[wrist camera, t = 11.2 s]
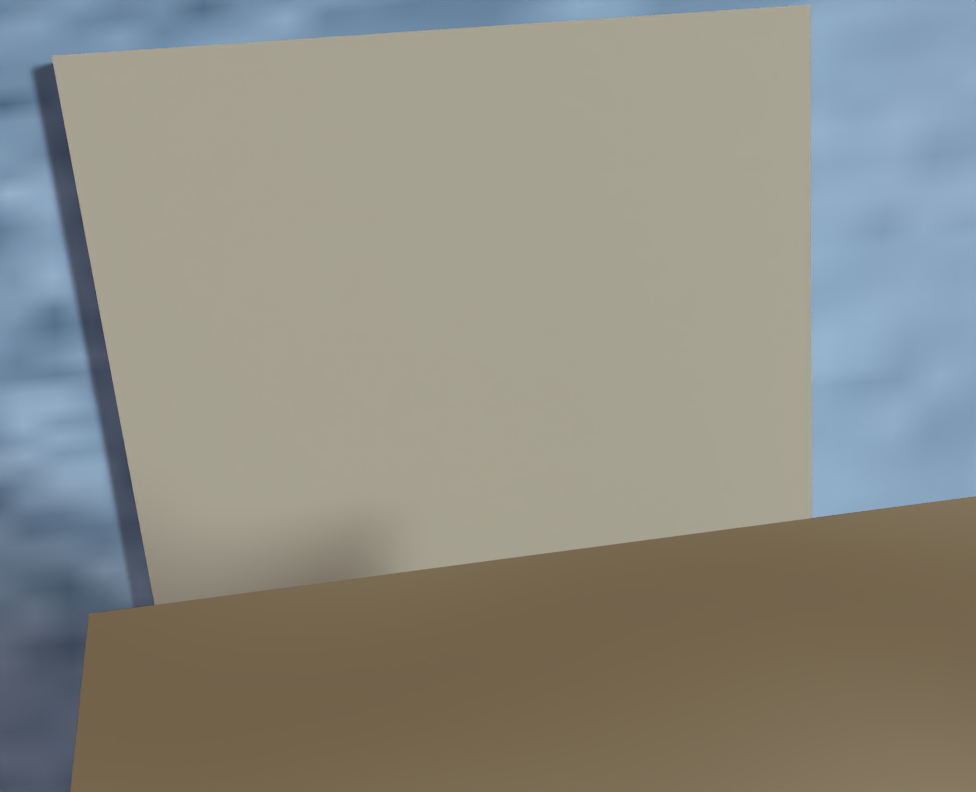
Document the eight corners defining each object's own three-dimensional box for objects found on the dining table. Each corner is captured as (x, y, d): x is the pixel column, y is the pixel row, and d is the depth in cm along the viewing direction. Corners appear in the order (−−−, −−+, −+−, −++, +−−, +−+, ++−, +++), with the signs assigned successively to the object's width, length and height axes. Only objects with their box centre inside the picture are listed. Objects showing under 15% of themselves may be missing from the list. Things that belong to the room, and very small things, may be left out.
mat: (803, 720, 23) (812, 731, 23) (200, 813, 21) (196, 827, 21) (799, 10, 19) (810, 4, 19) (60, 60, 17) (51, 55, 17)
